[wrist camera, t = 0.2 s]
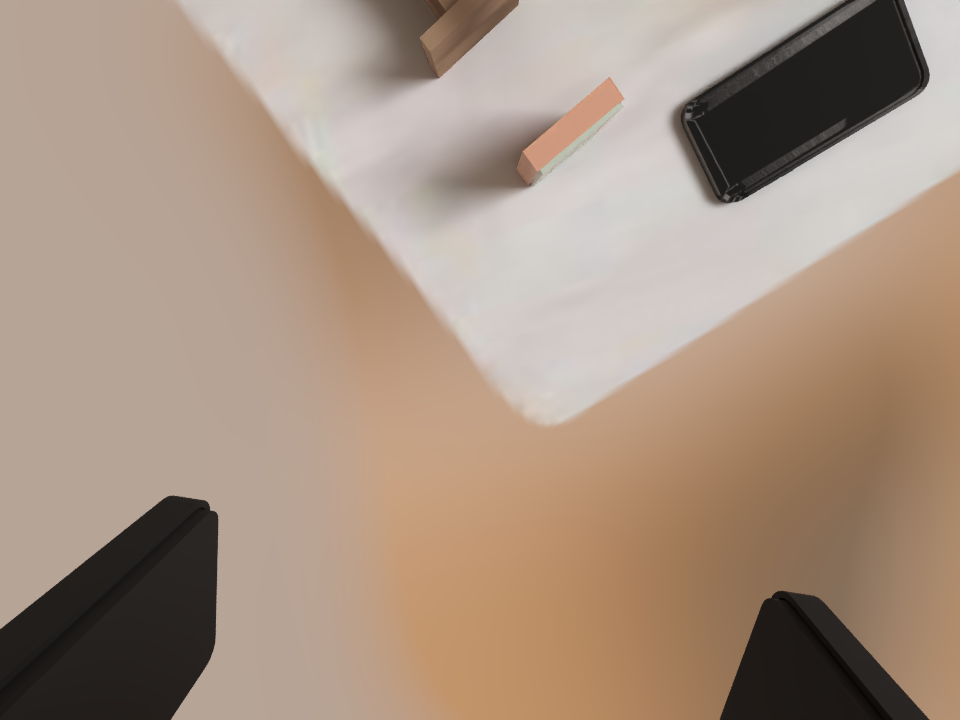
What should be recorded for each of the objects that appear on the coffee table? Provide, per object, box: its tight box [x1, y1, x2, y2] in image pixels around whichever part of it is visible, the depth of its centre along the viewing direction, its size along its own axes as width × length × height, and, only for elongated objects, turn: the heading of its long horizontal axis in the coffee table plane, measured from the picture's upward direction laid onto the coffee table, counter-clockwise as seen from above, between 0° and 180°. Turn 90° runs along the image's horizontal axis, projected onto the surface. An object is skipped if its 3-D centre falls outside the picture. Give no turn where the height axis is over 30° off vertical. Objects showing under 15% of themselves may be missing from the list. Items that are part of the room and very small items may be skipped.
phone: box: [681, 0, 930, 203], centre depth 33 cm, size 8×1×15 cm
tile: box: [516, 77, 624, 186], centre depth 31 cm, size 6×2×8 cm, turn 129°
